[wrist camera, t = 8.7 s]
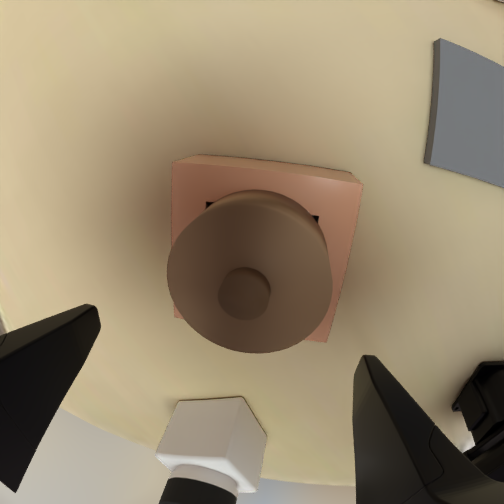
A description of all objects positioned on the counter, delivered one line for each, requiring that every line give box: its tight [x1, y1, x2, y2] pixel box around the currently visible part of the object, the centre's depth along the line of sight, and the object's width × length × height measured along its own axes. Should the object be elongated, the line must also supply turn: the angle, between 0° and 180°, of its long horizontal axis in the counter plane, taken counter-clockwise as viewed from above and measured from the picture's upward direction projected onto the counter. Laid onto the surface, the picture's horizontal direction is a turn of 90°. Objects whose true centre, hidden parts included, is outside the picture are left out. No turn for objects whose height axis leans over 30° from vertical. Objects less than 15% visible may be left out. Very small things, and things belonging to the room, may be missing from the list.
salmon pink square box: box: [171, 154, 363, 343], centre depth 17 cm, size 9×9×4 cm
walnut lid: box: [167, 189, 333, 353], centre depth 14 cm, size 7×7×4 cm
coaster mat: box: [424, 38, 504, 188], centre depth 13 cm, size 8×8×1 cm
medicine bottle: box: [155, 397, 267, 504], centre depth 22 cm, size 7×7×12 cm
